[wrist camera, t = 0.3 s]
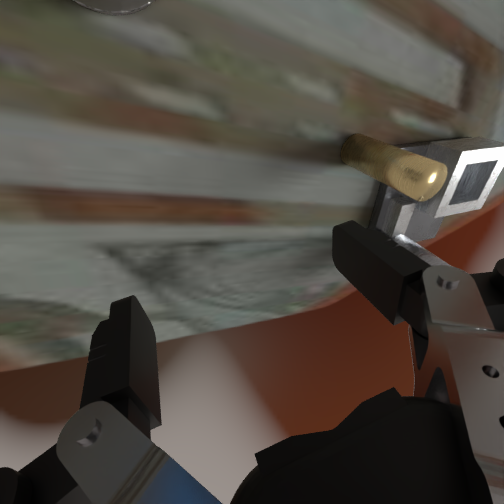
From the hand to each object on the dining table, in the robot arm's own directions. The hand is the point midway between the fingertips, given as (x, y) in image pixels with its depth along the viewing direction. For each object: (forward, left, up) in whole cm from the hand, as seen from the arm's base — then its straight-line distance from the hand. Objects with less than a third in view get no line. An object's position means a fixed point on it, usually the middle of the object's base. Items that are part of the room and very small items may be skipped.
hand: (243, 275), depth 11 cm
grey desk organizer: (+8, +29, -17) cm, 35 cm away
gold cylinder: (+1, +18, -17) cm, 25 cm away
